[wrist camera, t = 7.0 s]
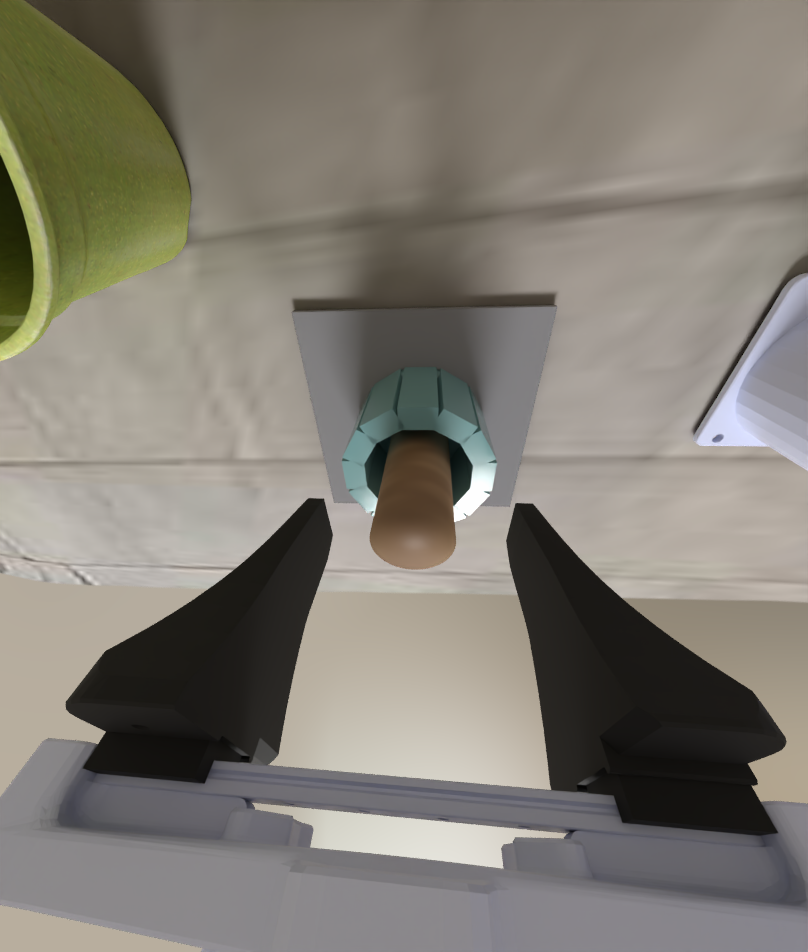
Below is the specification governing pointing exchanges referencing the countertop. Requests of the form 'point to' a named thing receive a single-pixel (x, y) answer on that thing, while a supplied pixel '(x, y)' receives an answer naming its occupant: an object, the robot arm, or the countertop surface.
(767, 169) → the countertop surface
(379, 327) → the grey mat
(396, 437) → the walnut peg
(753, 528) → the countertop surface
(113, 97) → the plant pot
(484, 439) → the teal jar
